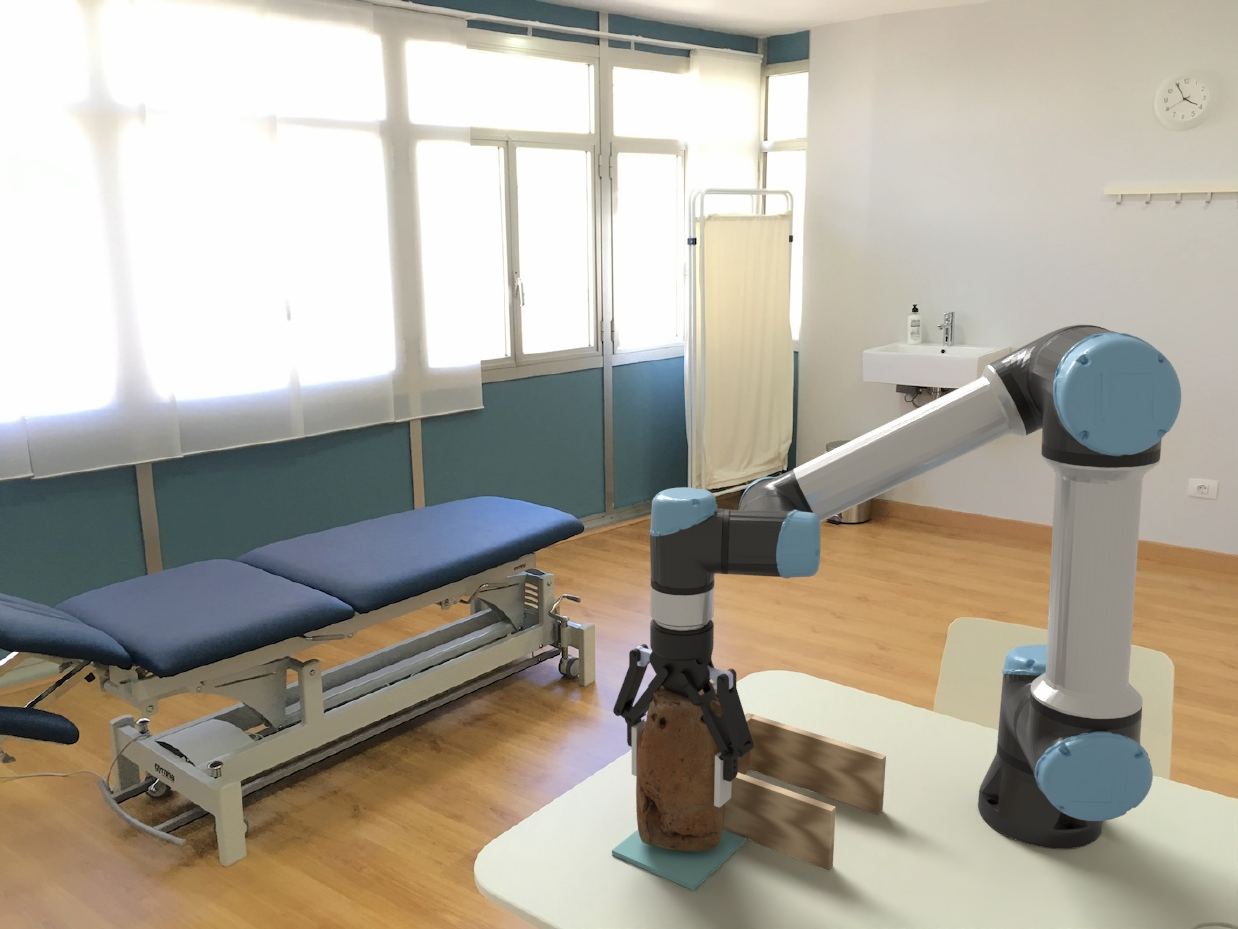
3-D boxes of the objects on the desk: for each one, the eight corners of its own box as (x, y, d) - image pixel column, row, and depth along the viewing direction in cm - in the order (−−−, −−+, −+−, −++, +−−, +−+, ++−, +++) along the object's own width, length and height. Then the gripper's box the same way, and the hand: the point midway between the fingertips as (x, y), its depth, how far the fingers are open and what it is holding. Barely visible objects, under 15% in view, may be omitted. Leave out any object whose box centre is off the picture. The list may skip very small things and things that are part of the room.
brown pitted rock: (721, 822, 132) (724, 677, 128) (724, 857, 125) (728, 704, 120) (636, 820, 133) (637, 675, 128) (634, 854, 125) (635, 702, 121)
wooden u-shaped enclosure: (882, 810, 137) (886, 755, 135) (828, 871, 124) (831, 811, 122) (746, 763, 149) (747, 712, 147) (684, 814, 136) (684, 759, 135)
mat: (745, 842, 130) (745, 838, 130) (693, 890, 121) (693, 886, 121) (666, 811, 137) (666, 807, 137) (611, 854, 128) (611, 850, 128)
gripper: (787, 631, 118) (781, 803, 123) (620, 589, 132) (621, 745, 137) (754, 653, 112) (749, 832, 117) (583, 606, 126) (585, 769, 131)
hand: (680, 786), depth 127 cm, fingers closed on brown pitted rock, 11 cm apart
